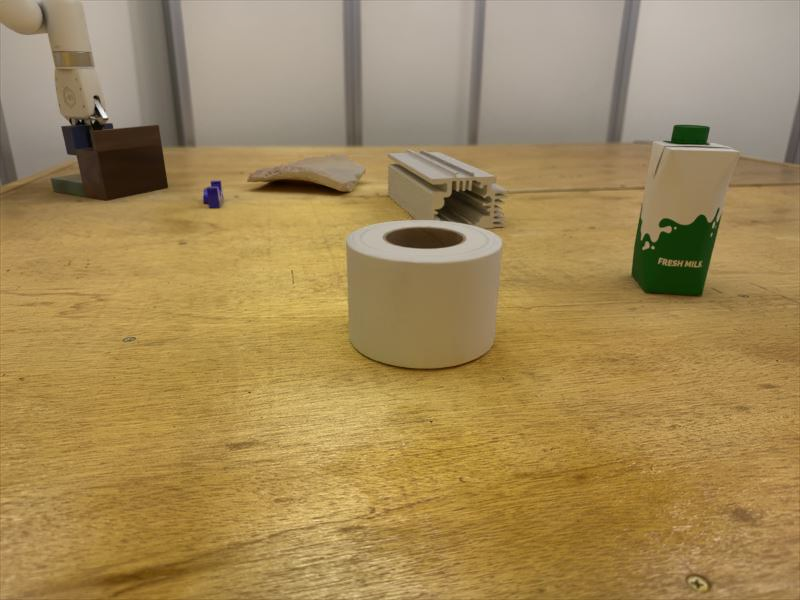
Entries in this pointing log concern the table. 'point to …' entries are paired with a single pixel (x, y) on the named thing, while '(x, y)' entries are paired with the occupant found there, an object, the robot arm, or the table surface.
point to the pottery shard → (315, 172)
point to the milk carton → (681, 211)
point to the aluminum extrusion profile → (444, 189)
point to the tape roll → (423, 292)
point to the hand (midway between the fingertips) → (92, 149)
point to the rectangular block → (78, 136)
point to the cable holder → (213, 194)
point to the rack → (117, 165)
